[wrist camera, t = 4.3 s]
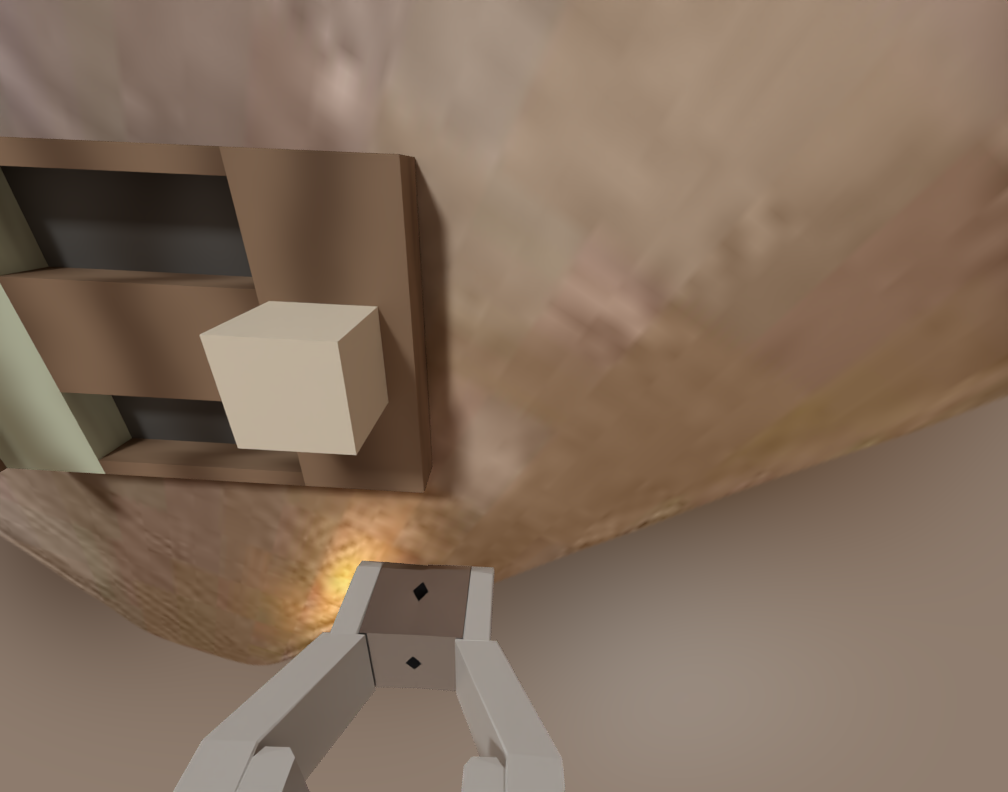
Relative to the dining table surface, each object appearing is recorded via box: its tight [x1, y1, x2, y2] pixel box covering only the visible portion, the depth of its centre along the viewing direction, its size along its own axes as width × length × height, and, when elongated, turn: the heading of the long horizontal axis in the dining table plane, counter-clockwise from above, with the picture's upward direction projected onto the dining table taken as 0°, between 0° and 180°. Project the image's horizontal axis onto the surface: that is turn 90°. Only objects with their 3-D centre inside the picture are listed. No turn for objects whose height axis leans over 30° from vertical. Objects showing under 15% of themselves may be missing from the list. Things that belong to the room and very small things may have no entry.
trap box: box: [0, 137, 432, 493], centre depth 19 cm, size 26×17×6 cm, turn 88°
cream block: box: [200, 301, 388, 455], centre depth 18 cm, size 5×5×4 cm
